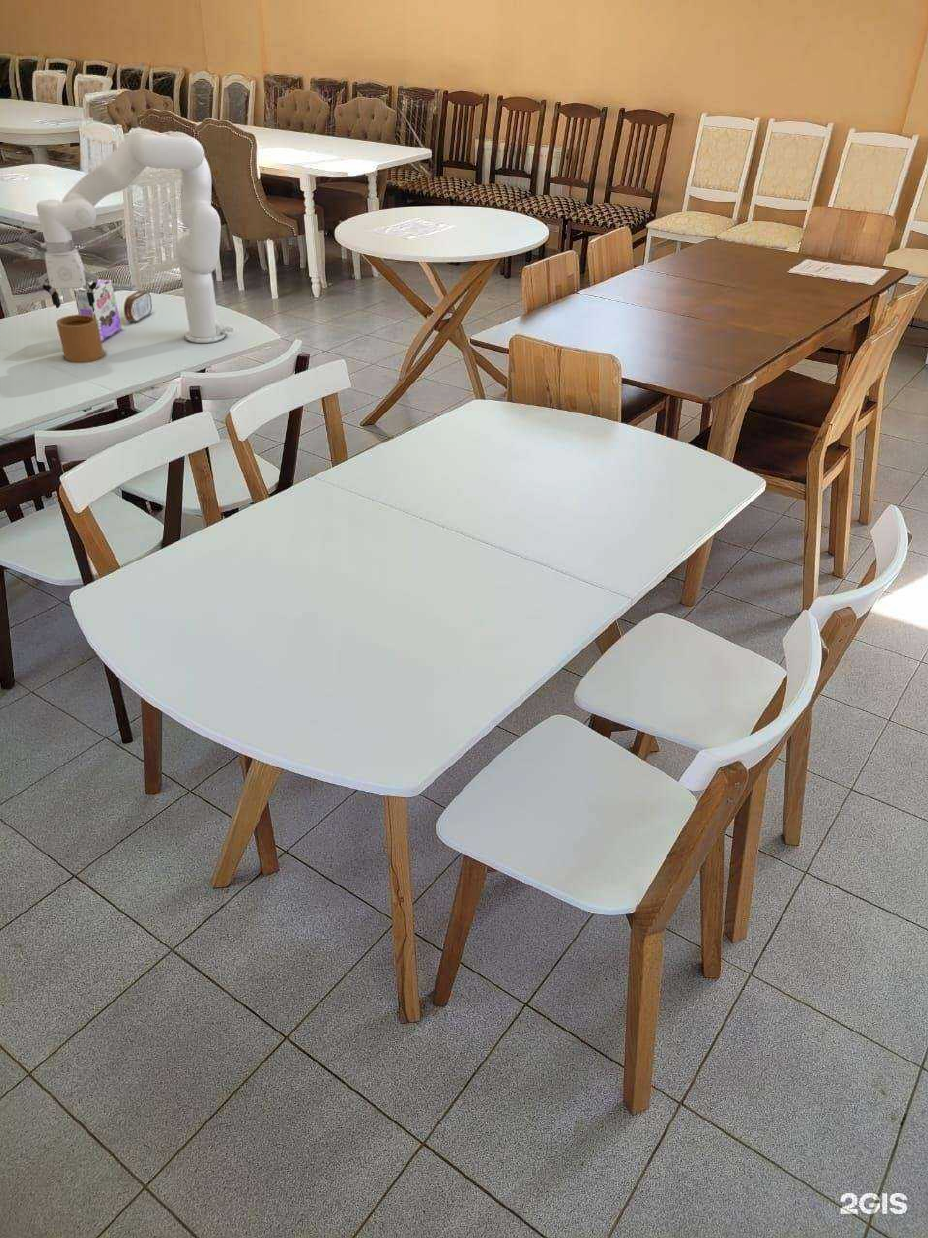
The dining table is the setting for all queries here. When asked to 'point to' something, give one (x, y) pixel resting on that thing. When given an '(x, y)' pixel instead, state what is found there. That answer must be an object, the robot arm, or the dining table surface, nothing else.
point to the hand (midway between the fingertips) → (75, 305)
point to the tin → (137, 306)
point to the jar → (80, 338)
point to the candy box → (100, 307)
